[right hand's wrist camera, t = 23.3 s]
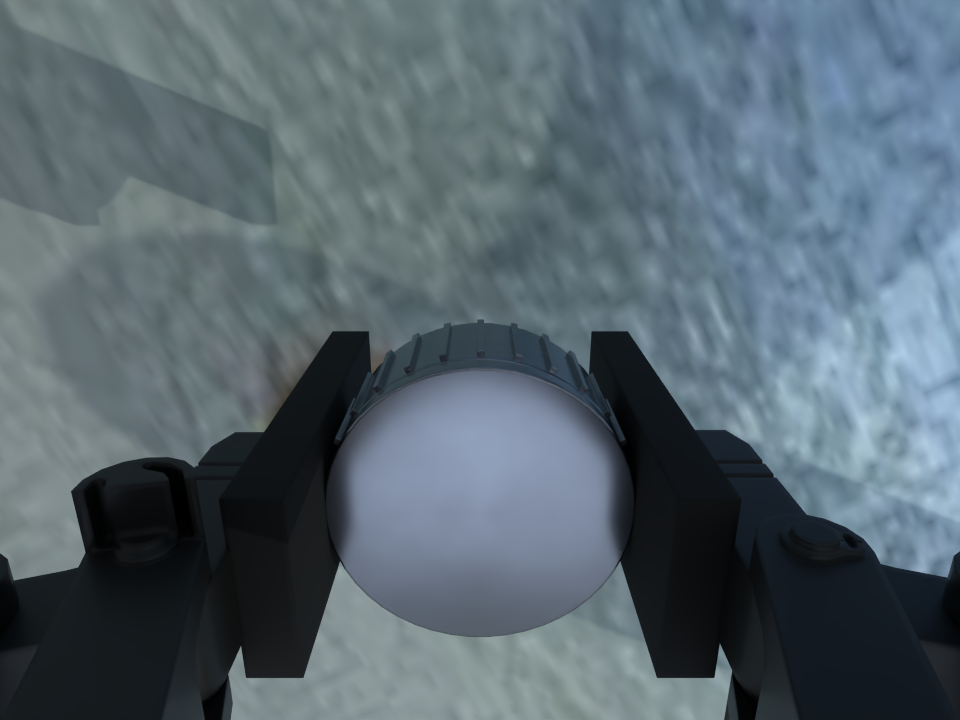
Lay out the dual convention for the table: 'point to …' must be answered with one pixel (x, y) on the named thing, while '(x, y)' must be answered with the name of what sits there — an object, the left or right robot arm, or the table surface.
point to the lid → (480, 482)
